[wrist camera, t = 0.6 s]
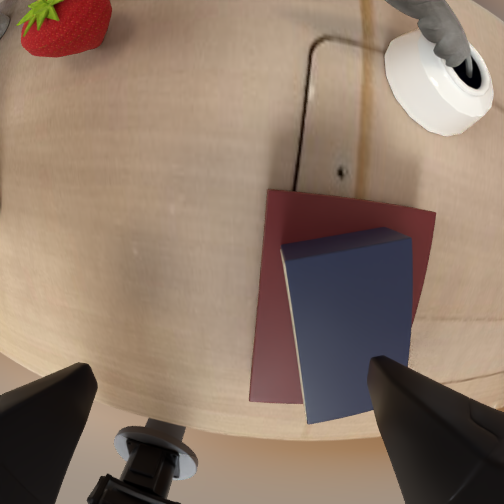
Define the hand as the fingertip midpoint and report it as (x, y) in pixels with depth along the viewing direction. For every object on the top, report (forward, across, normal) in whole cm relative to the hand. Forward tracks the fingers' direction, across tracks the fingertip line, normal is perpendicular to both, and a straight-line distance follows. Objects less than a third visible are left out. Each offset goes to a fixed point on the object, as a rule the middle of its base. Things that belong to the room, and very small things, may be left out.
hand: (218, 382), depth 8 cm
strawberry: (+13, +11, -20) cm, 26 cm away
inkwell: (+13, -12, -15) cm, 23 cm away
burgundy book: (+12, -6, +3) cm, 14 cm away
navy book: (+10, -6, +3) cm, 12 cm away
